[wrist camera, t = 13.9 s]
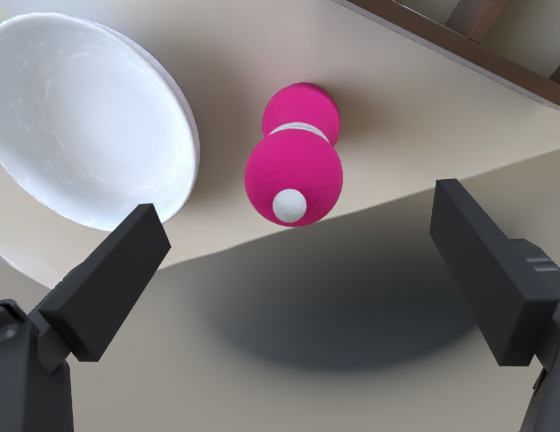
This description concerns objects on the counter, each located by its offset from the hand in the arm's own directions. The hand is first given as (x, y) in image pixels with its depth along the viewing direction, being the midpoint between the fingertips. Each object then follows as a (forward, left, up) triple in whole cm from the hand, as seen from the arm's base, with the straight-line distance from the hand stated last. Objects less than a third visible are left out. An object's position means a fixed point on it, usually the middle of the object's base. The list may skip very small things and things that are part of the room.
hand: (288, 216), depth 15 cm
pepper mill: (0, 0, -21) cm, 21 cm away
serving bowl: (-18, -9, -21) cm, 29 cm away
